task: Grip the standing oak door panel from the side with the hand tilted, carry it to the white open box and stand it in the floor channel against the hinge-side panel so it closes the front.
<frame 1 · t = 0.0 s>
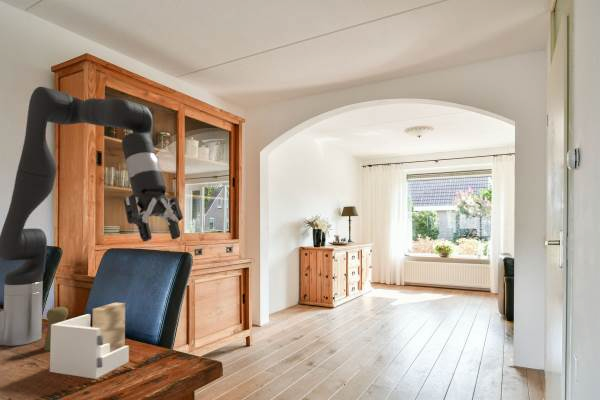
hand: (162, 239, 87), 31 cm above the table, tool tilted 20°, fingers open, 8 cm apart
white open box: (103, 367, 92), on the table
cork: (56, 347, 106), on the table
door: (108, 349, 104), on the table
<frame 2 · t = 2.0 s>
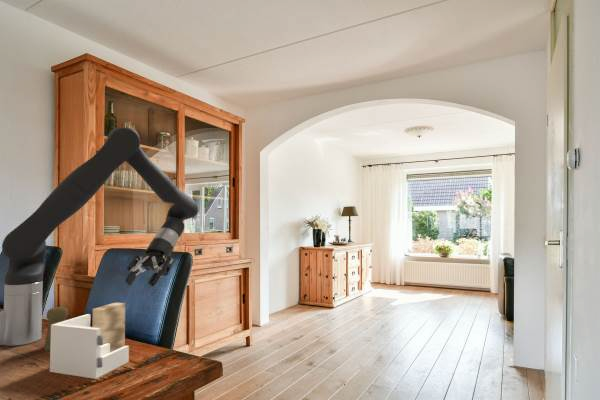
hand: (139, 284, 116), 16 cm above the table, tool tilted 45°, fingers open, 8 cm apart
nothing on the table moved.
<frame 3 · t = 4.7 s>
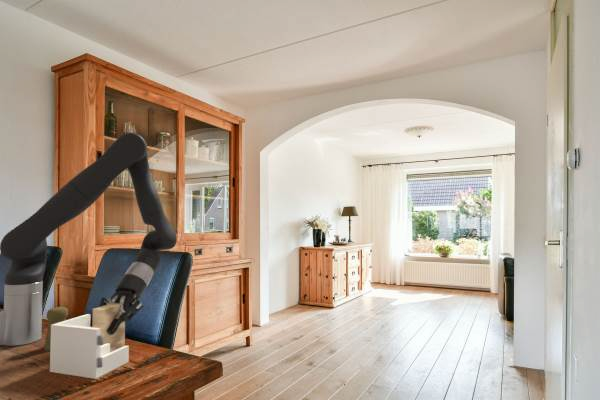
hand: (103, 332, 102), 5 cm above the table, tool tilted 45°, fingers closed on door, 3 cm apart
door: (108, 349, 104), on the table, touching gripper
everything else where it was.
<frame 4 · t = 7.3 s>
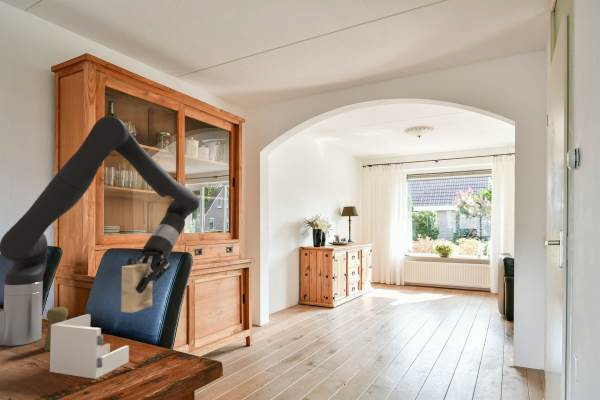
hand: (132, 290, 102), 17 cm above the table, tool tilted 45°, fingers closed on door, 3 cm apart
door: (137, 308, 103), point 11 cm above the table, touching gripper
everything else where it was.
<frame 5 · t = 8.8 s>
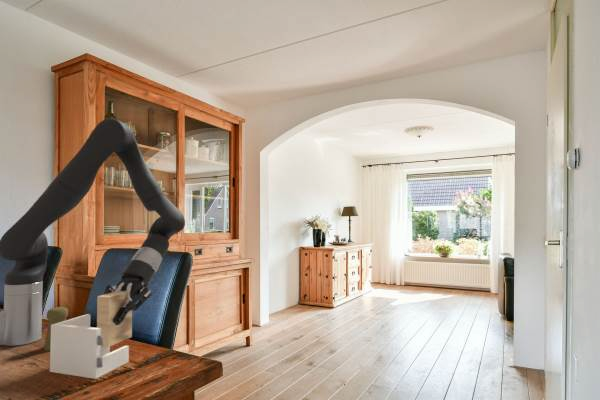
hand: (109, 322, 94), 10 cm above the table, tool tilted 45°, fingers closed on door, 3 cm apart
door: (114, 341, 95), point 5 cm above the table, touching gripper
everything else where it was.
when the fingers open (8 cm above the table, at t = 10.1 s): door drops 1 cm, resting on white open box.
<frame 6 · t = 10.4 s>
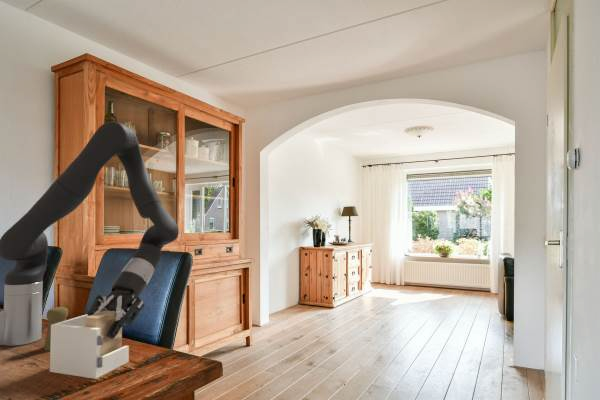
hand: (98, 335, 90), 8 cm above the table, tool tilted 45°, fingers open, 6 cm apart
door: (103, 363, 92), point 1 cm above the table, touching white open box
everything else where it was.
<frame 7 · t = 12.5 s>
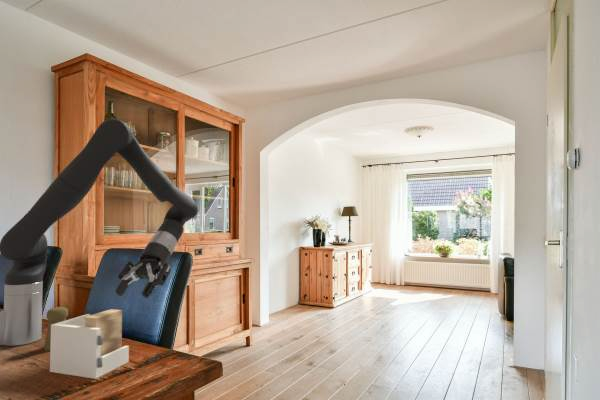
hand: (131, 295, 102), 15 cm above the table, tool tilted 45°, fingers open, 8 cm apart
nothing on the table moved.
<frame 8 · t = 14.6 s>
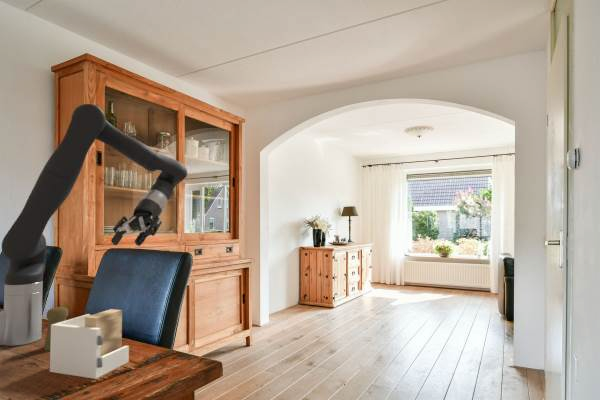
hand: (125, 243, 112), 29 cm above the table, tool tilted 45°, fingers open, 8 cm apart
nothing on the table moved.
at the end: door 0.1 cm off-centre on the white open box, point 1.0 cm above the white open box's base; door tilted 0°; the gripper is holding nothing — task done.
